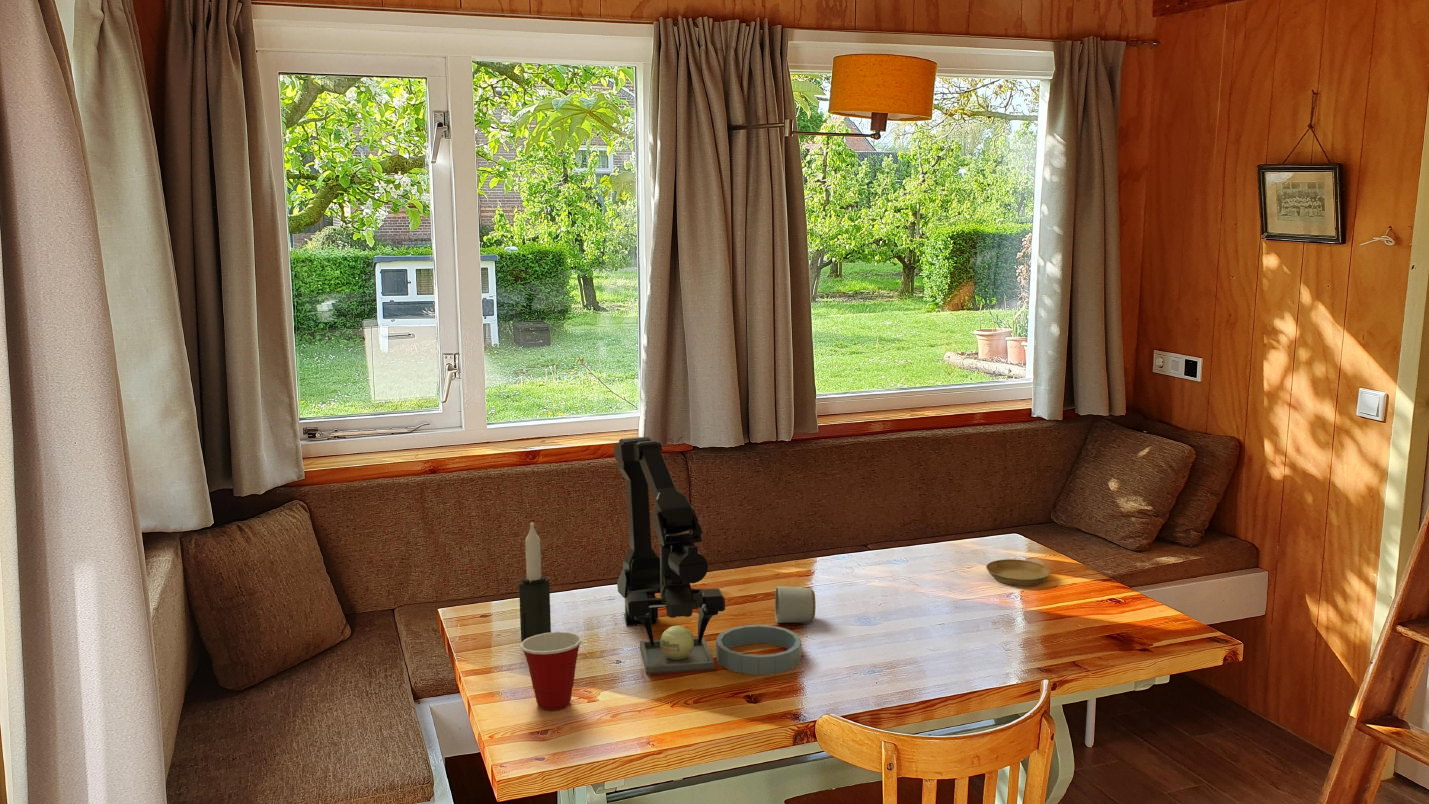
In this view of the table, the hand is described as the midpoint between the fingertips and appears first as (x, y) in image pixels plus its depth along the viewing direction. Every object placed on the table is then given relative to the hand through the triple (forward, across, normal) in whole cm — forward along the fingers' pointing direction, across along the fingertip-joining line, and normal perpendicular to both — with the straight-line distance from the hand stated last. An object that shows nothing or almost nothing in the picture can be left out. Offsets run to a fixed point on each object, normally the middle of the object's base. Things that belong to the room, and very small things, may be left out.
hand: (675, 644), depth 214 cm
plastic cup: (+3, -24, -16) cm, 29 cm away
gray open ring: (+3, +16, -2) cm, 16 cm away
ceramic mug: (+3, +27, +17) cm, 32 cm away
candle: (+3, -27, +14) cm, 31 cm away
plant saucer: (+4, +86, +34) cm, 93 cm away
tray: (+3, 0, 0) cm, 3 cm away
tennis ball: (+3, 0, 0) cm, 3 cm away
